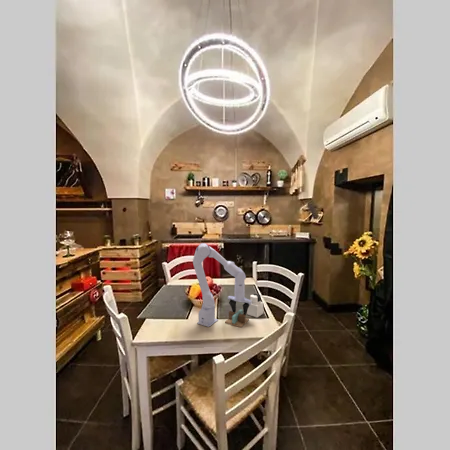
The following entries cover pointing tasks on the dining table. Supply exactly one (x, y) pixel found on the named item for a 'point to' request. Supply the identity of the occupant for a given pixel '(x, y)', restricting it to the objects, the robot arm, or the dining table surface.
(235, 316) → the teal block
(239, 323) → the joint base
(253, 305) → the medicine bottle
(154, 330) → the dining table surface
